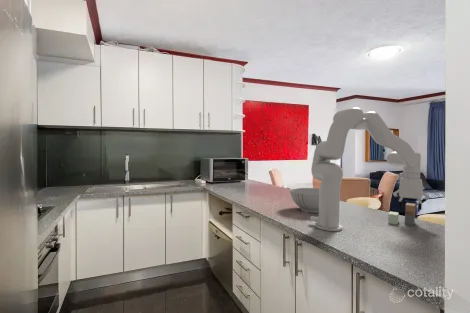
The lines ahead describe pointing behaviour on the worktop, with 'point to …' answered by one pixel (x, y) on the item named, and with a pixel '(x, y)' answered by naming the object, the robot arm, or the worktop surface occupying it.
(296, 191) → the decorative bowl
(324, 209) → the robot arm
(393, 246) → the worktop surface
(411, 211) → the walnut brick
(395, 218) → the sage brick
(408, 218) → the charcoal brick
